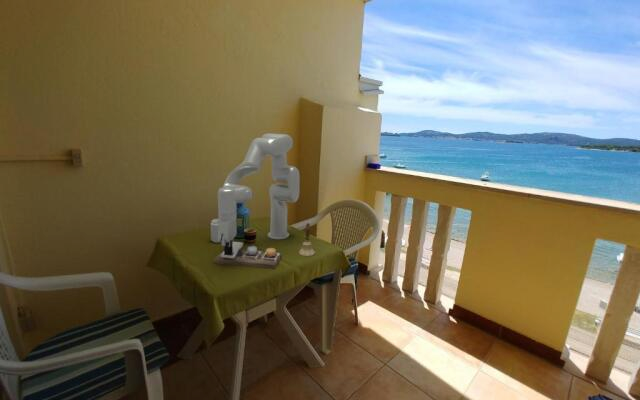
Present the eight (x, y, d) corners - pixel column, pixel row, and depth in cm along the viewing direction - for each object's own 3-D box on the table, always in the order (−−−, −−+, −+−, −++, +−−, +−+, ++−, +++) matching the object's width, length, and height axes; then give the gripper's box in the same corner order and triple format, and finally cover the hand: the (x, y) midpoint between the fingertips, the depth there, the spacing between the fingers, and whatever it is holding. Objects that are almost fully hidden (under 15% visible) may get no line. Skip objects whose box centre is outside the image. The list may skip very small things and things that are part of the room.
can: (220, 244, 140) (220, 223, 138) (208, 242, 142) (207, 221, 139) (228, 239, 148) (227, 218, 145) (216, 237, 149) (215, 217, 146)
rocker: (231, 243, 130) (231, 241, 129) (243, 244, 129) (242, 242, 129) (221, 257, 120) (221, 254, 119) (234, 258, 120) (234, 256, 119)
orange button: (267, 252, 126) (267, 247, 125) (276, 252, 125) (276, 248, 125) (264, 256, 121) (264, 251, 121) (274, 256, 121) (274, 252, 120)
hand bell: (295, 253, 135) (296, 223, 131) (305, 248, 142) (306, 220, 138) (308, 257, 130) (309, 227, 127) (317, 252, 137) (319, 223, 134)
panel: (226, 251, 132) (226, 242, 131) (281, 256, 130) (281, 247, 129) (214, 263, 120) (213, 253, 118) (274, 268, 118) (274, 259, 116)
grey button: (249, 250, 126) (249, 245, 126) (258, 251, 126) (258, 246, 125) (245, 254, 122) (245, 249, 121) (255, 255, 122) (255, 250, 121)
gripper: (226, 210, 123) (227, 246, 127) (211, 219, 109) (212, 260, 113) (242, 211, 123) (242, 248, 127) (228, 221, 108) (229, 262, 112)
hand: (228, 253), depth 120 cm, fingers closed
